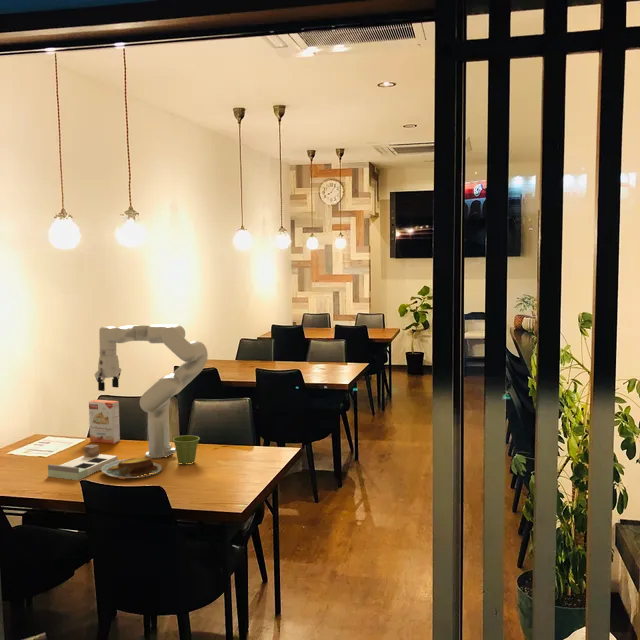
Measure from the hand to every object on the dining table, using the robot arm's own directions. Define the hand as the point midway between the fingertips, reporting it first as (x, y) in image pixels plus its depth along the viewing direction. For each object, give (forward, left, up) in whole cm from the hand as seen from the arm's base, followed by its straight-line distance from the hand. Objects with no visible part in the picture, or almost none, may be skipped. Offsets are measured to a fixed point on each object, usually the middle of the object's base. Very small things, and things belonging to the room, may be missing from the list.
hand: (108, 388), depth 311 cm
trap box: (-5, +25, -31) cm, 40 cm away
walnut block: (-2, +15, -28) cm, 32 cm away
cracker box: (+16, -17, -31) cm, 39 cm away
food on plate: (-28, +22, -31) cm, 48 cm away
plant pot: (-43, +2, -31) cm, 53 cm away
